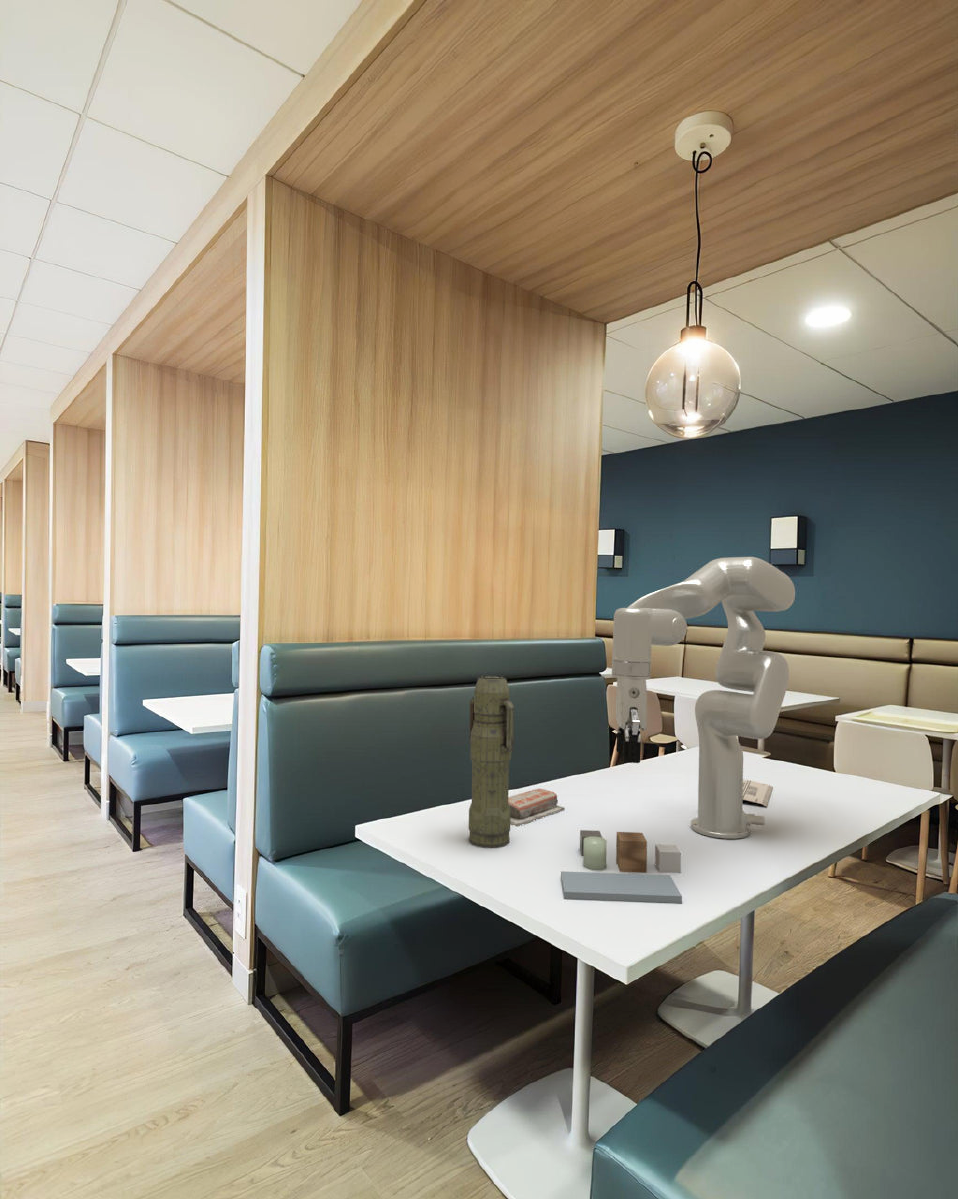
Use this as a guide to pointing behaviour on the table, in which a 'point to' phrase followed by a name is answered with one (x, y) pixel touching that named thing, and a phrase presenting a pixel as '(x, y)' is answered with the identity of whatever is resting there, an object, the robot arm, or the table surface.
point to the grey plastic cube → (668, 858)
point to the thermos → (490, 762)
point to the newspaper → (756, 792)
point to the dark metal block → (587, 834)
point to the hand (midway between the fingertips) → (627, 757)
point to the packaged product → (532, 806)
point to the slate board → (620, 887)
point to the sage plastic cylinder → (594, 853)
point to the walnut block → (631, 852)
